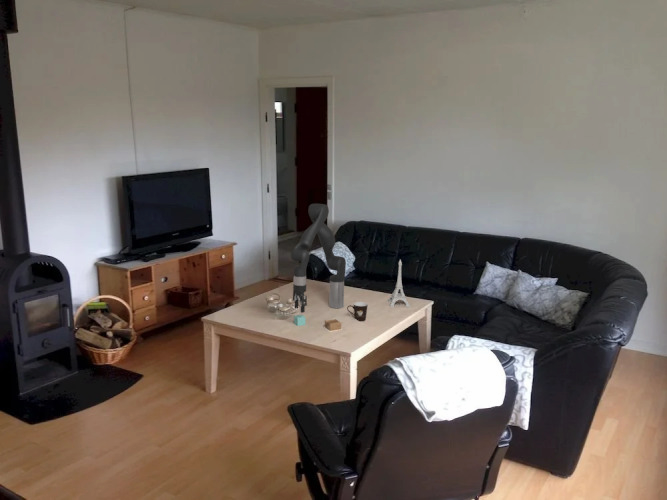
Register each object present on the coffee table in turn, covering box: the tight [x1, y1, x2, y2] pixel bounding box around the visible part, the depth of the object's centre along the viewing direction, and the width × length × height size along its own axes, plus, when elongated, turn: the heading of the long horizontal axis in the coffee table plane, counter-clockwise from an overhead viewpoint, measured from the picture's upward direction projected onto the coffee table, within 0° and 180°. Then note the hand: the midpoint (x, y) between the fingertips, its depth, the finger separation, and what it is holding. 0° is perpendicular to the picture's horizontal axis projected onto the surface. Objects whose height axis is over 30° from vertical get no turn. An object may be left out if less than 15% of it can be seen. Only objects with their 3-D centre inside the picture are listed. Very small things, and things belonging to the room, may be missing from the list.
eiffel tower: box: [386, 259, 411, 308], centre depth 393 cm, size 13×13×30 cm
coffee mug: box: [347, 301, 369, 322], centre depth 364 cm, size 12×9×10 cm
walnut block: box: [324, 319, 342, 332], centre depth 344 cm, size 7×7×4 cm
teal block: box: [293, 314, 306, 327], centre depth 351 cm, size 5×5×6 cm
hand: (299, 310), depth 349 cm, fingers open, 8 cm apart
